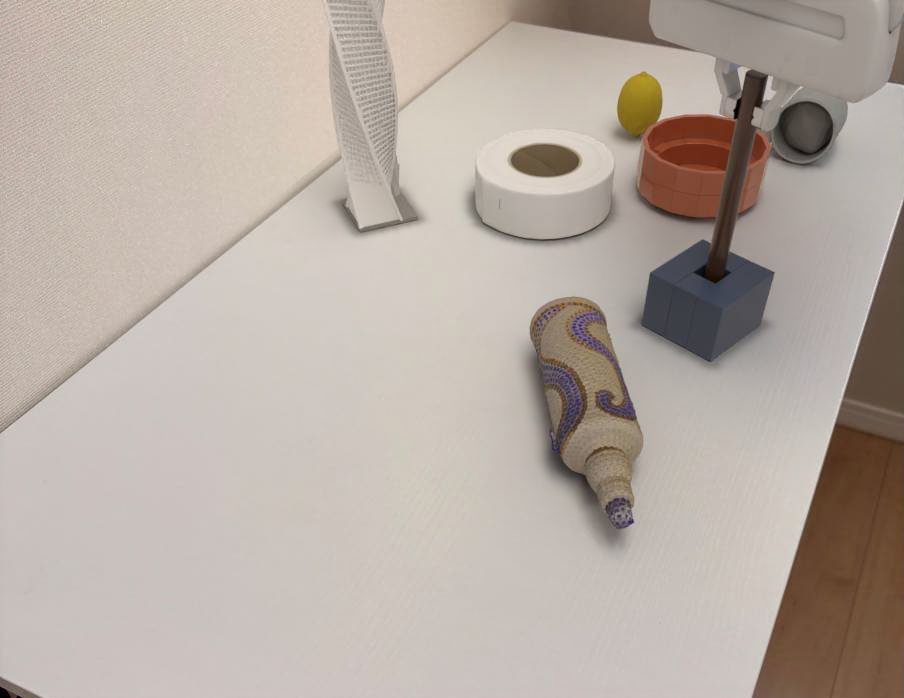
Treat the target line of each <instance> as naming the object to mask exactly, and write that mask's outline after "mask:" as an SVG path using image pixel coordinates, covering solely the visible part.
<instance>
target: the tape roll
mask: <svg viewBox="0 0 904 698" xmlns="http://www.w3.org/2000/svg"><path fill="white" fill-rule="evenodd" d="M474 163H475V165H474V169H475V171H474V172H475V173H474V175H475V187H474V188H475V189H474V190H475V191H474V193H475V197H474V198H475V199H474V200H475V209H476V212H477V214H478V216H479V218H481V220H482V223H483V224H486V225H487V226H489V227H491V228H493V229H495V230H497V231H498V232H502V233H504V234H507V235H512V236H515V237H518V238H523V239H531V240H555V239H556V240H557V239H563V238H569V237H573V236H576V235H581V234H584V233H586V232H588V231H590V230H593V229H594V228H596V227H597V226H599V225H600V224H601V223H603V222H604V221H605V219H606V218H607V217H608V215H609V213H610V210H611V205H612V196H613V185H614V176H615V168H616V161H615V156H614V154H613V153H612V151H611V150H610V149H609V148H608V147H607V146H606V145H605V144H604V143H603V142H602V141H600V140H597V139H595V138H593V137H592V136H589V135H586V134H582V133H579V132H576V131H571V130H565V129H560V128H532V129H523V130H517V131H516V130H515V131H512V132H509V133H505V134H502V135H500V136H497V137H495V138H494V139H492V140H490V141H488V142H487V143H485V145H483V146H482V147H481V148H480V149H479V151H478V153H477V155H476V157H475V162H474Z"/></svg>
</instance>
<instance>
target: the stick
mask: <svg viewBox="0 0 904 698" xmlns="http://www.w3.org/2000/svg"><path fill="white" fill-rule="evenodd" d="M769 77H770V75H767V74H764V73H761V72H758V71H755V70H752V69H748V70H746V71H745V75H744V79H743V84H742V88H741V90H742V94H741V99H740V104H739V108H738V113H737V118H736V123H735V128H734V133H733V138H732V143H731V148H730V153H729V158H728V163H727V167H726V172H725V177H724V182H723V187H722V192H721V197H720V202H719V207H718V212H717V217H715V222H714V226H713V232H712V236H711V242H710V243H711V246H710V251H709V256H708V261H707V266H706V271H705V276H704V278H705V279H707V280H709V281H711V282H713V283H715V284H716V283H717V282H719V281H720V280H722V279H723V278H724V274H725V270H726V265H727V261H728V256H729V252H731V247H732V243H733V238H734V233H735V230H736V226H737V225H736V224H737V220H738V216H739V213H738V211H739V207H740V202H741V198H742V193H743V189H744V184H745V180H746V175H747V171H748V166H749V162H750V157H751V153H752V148H753V144H754V139H755V135H756V130H757V128H755V127H753V126H751V121H752V119H753V118H754V117H753V112H754V107H755V106H756V105H758V104H762V102H763V101H764V98H765V93H766V89H767V85H768V80H769Z"/></svg>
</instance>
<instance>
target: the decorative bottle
mask: <svg viewBox="0 0 904 698" xmlns="http://www.w3.org/2000/svg"><path fill="white" fill-rule="evenodd" d="M529 338H530V341H531V343H532V346H533V348H534V352H535V355H536V359H537V365H538V369H539V371H540V376H541V379H542V383H543V386H544V395H545V397H546V402H547V405H548V411H549V415H550V416H549V417H550V420H551V424H552V426H551V427H550V428H549V434H548V435H549V437H550V440H551V449H552V450H553V452H554V453H555V454H558V455H559V456H560V459H561V461H562V462H563V463H564V464H565V465H566V467H567V468H569V470H571V471H572V472H575V473H578V474H581V475H582V476H584V477H585V478H586V481H587V484H588V485H589V487H590V488H591V489H592V491H593V492H594V493H595V494H596V496H597V501H598V505H599V507H600V510H601V511H602V512H603V514H604V515H606V516H608V520H609V521H610V523H611V524H612V525H613V526H614V528H615V529H616V530H622V529H627V528H629V526H631V525H633V524H634V523H635V519H634V517H633V511H632V509H633V508H634V505H635V495H634V492H633V487H632V486H631V482H632V479H633V467H632V465H633V464H634V463H635V462H636V461H637V459H638V458H639V457H640V455H641V453H642V450H643V447H644V436H643V435H644V434H643V431H642V428H641V426H640V423H639V421H638V415H636V414H637V413H636V409H635V408H634V403H633V401H632V400H631V396H630V393H629V390H628V387H627V384H626V382H625V379H624V376H623V372H622V368H621V367H620V363H619V359H618V357H617V353H616V351H615V348H614V345H613V341H612V337H611V334H610V332H609V329H608V323H607V317H606V315H605V312H604V311H603V310H602V308H601V307H600V305H598V303H596V302H594V301H592V300H591V299H588V298H586V297H582V296H574V295H572V296H565V297H560V298H556V299H553V300H550V301H548V302H546V303H545V304H543V305H542V306H540V307H539V308H538V309H537V311H536V312H535V313H534V315H533V316H532V317H531V321H530V324H529ZM555 445H556V447H555Z"/></svg>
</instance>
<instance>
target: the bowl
mask: <svg viewBox="0 0 904 698" xmlns="http://www.w3.org/2000/svg"><path fill="white" fill-rule="evenodd" d="M735 123H736V120H734V119H731V118H728V117H725V116H722V115H715V114H707V113H705V114H703V113H702V114H701V113H700V114H681V115H675V116H671V117H665V118H662V119H660V120H658V121H657V123H655V124H653V125H651V126H649V127H648V129H647V130H646V132H645V133H643V135H642V136H641V139H640V140H641V141H640V148H639V156H638V162H637V170H636V177H635V181H636V186H637V190H638V193H639V194H640V195H641V196H642V197H643V198H644V199H646V200H647V202H648V203H650V204H651V205H653V206H654V207H655V206H656V207H658V208H659V209H663V210H664V211H667V212H669V213H671V214H677V215H681V216H686V217H691V218H704V219H705V218H706V219H707V218H716V217H717V212H718V207H719V202H720V197H721V192H722V187H723V182H724V177H725V172H726V167H727V163H728V158H729V153H730V148H731V143H732V138H733V133H734V128H735ZM771 145H772V144H770V143H769V141H768V138H767V137H766V136H765V135H764V134H763V133H761V132H760V131H759V130H756V135H755V139H754V144H753V148H752V153H751V157H750V162H749V166H748V171H747V175H746V180H745V184H744V189H743V193H742V198H741V202H740V207H739V211H738V214H739V213H743V212H744V211H746V210H747V209H749V208H750V207H753V206H754V205H756V204H757V203H758V200H759V197H760V196H761V193H762V190H763V185H764V181H765V178H766V175H767V169H768V165H769V163H770V157H771V153H772V149H773V148H772V146H771Z"/></svg>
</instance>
